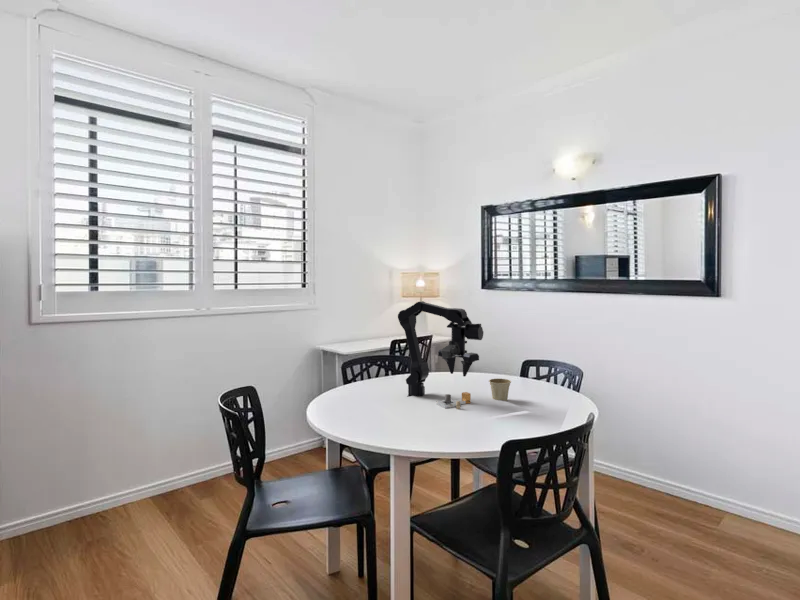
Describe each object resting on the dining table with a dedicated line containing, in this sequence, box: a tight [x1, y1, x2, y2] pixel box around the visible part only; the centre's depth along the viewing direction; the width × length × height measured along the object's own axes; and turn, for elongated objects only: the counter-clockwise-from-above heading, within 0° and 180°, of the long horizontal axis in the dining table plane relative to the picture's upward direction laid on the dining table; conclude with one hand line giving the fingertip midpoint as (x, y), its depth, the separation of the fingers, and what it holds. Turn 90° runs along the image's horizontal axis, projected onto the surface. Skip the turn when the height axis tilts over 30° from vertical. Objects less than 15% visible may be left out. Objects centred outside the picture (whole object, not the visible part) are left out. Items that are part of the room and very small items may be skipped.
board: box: [444, 393, 461, 410], centre depth 197 cm, size 22×22×5 cm
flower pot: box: [488, 378, 512, 402], centre depth 207 cm, size 9×9×9 cm
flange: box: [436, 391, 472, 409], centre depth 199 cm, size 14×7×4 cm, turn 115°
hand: (458, 375), depth 204 cm, fingers open, 7 cm apart
